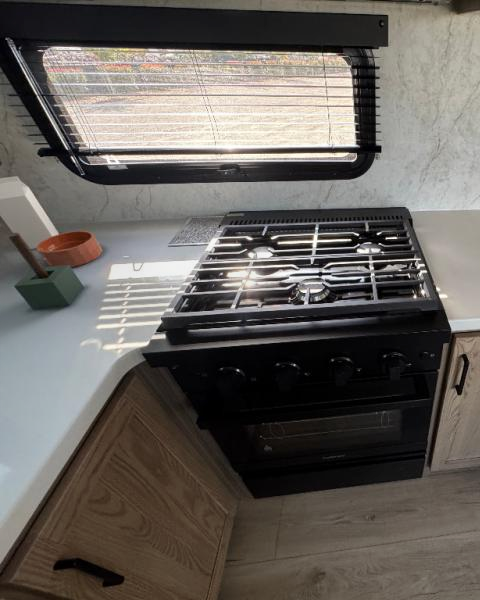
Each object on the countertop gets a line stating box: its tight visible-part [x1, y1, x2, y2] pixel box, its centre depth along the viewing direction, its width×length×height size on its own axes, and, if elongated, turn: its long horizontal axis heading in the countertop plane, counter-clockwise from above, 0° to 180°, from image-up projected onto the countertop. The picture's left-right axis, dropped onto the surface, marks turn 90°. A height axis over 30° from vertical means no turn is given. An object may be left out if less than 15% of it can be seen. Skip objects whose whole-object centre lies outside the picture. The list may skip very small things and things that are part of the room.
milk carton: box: [0, 175, 60, 250], centre depth 96 cm, size 7×7×19 cm
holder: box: [13, 265, 85, 311], centre depth 79 cm, size 7×7×7 cm
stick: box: [6, 232, 50, 279], centre depth 76 cm, size 2×2×17 cm
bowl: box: [35, 230, 103, 268], centre depth 94 cm, size 12×12×6 cm
